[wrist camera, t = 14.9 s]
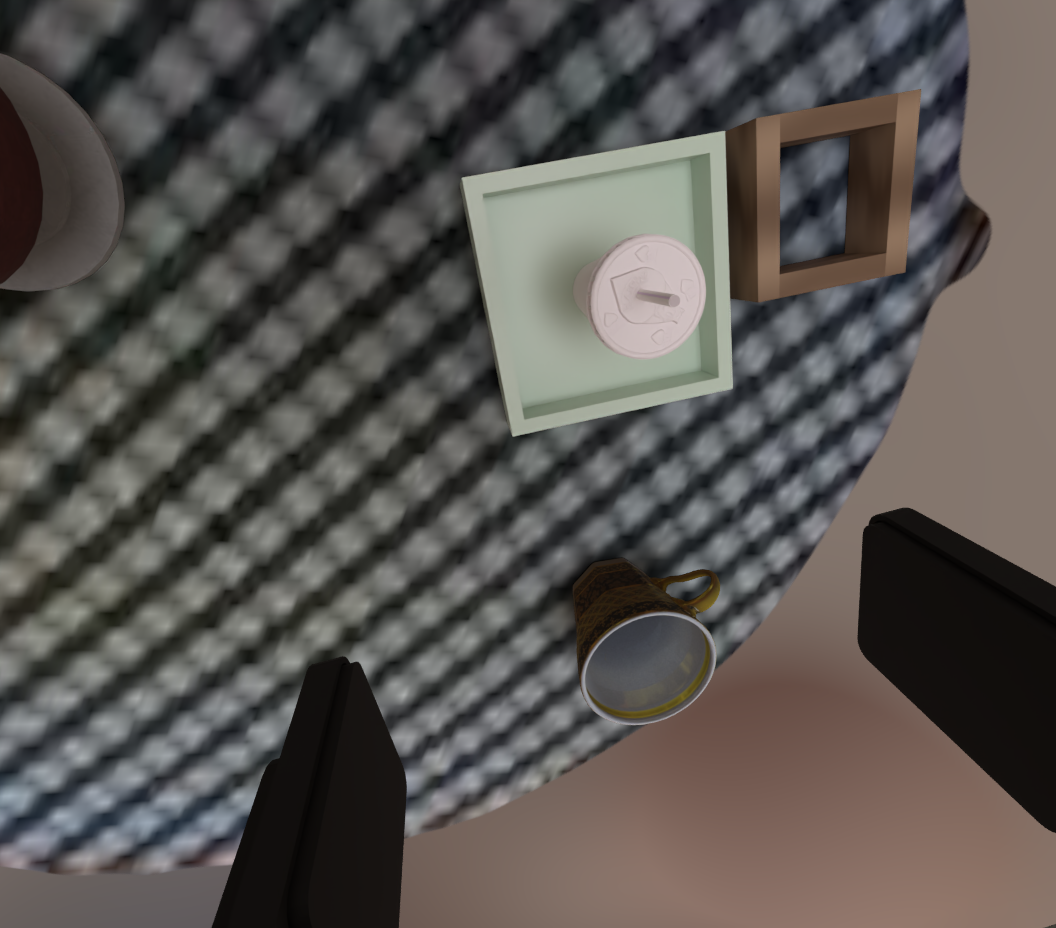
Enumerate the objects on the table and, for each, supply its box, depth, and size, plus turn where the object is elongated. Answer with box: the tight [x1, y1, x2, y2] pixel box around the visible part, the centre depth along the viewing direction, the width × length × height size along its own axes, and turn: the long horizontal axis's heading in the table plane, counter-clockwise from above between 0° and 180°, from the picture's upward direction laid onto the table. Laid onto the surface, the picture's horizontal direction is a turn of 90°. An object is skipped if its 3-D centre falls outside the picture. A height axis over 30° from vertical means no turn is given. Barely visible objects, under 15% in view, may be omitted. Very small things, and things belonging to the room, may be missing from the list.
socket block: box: [725, 89, 921, 302], centre depth 36 cm, size 11×11×4 cm
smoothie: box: [573, 234, 706, 359], centre depth 31 cm, size 6×6×14 cm
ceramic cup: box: [573, 558, 720, 725], centre depth 42 cm, size 13×10×10 cm
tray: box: [460, 131, 733, 436], centre depth 36 cm, size 16×16×4 cm
